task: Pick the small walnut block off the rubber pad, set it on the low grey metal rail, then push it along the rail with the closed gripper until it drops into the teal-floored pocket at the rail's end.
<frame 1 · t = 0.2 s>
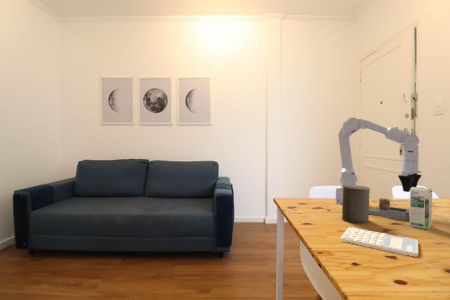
hand: (409, 190, 116), 10 cm above the table, tool pointing down, fingers open, 7 cm apart
rail: (381, 215, 110), on the table
pillar candle: (355, 220, 103), on the table
rubber pad: (384, 209, 120), on the table
walnut block: (384, 208, 120), resting on rubber pad
calculator: (378, 244, 81), on the table
syrup box: (420, 227, 96), on the table
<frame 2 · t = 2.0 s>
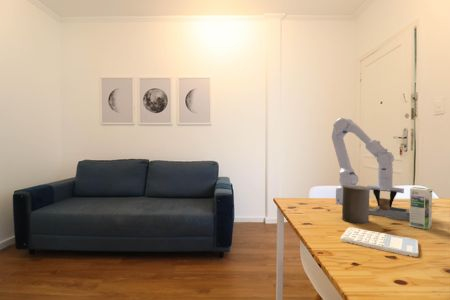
hand: (384, 206, 120), 2 cm above the table, tool pointing down, fingers closed on walnut block, 4 cm apart
walnut block: (384, 208, 120), resting on rubber pad, touching gripper
everything else where it was.
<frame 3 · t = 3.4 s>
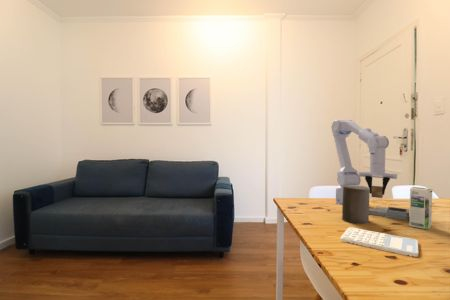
hand: (377, 193, 113), 9 cm above the table, tool pointing down, fingers closed on walnut block, 4 cm apart
walnut block: (377, 196, 113), point 7 cm above the table, touching gripper
everything else where it was.
when the fingers open (4 cm above the table, at t = 4.9 s): walnut block stays where it is, resting on rail.
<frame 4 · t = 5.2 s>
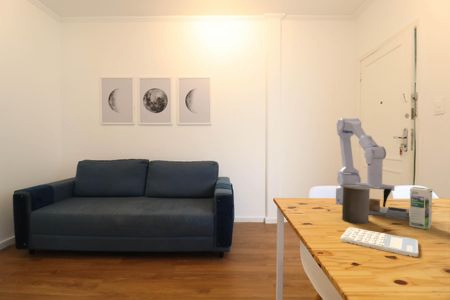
hand: (374, 205, 112), 4 cm above the table, tool pointing down, fingers open, 7 cm apart
walnut block: (374, 209, 112), point 2 cm above the table, touching rail
everything else where it was.
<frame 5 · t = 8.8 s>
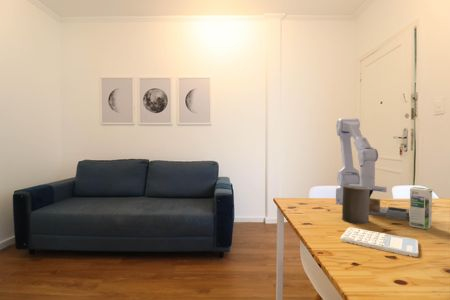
hand: (366, 206, 113), 3 cm above the table, tool pointing down, fingers closed, pressing on walnut block
walnut block: (374, 209, 112), point 2 cm above the table, touching gripper, rail
everything else where it was.
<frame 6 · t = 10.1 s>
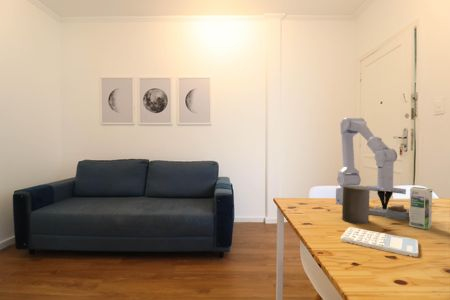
hand: (384, 208, 109), 3 cm above the table, tool pointing down, fingers closed
walnut block: (391, 211, 108), point 2 cm above the table, tilted 73°, touching rail
everything else where it was.
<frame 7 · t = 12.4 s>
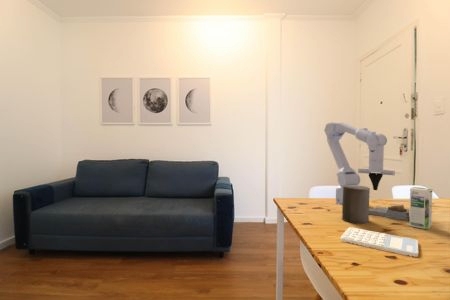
hand: (375, 189, 117), 10 cm above the table, tool pointing down, fingers closed
nothing on the table moved.
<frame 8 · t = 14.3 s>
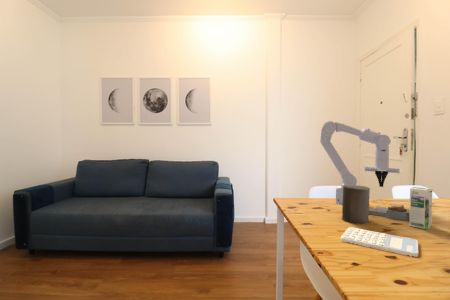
hand: (381, 186, 126), 10 cm above the table, tool pointing down, fingers closed
nothing on the table moved.
at the end: walnut block 2.2 cm from the target spot on the rail, point 2.1 cm above the rail's base; the gripper is holding nothing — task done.
